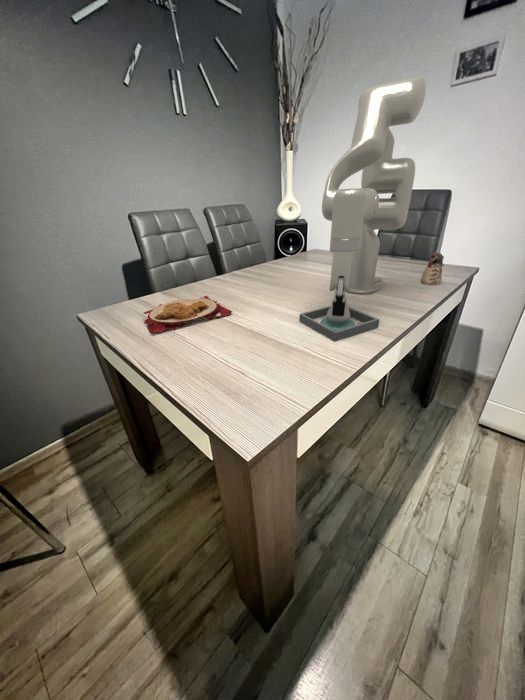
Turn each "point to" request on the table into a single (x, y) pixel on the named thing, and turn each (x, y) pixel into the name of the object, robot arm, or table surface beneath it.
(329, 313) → the flask
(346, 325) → the square tray with dome
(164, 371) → the table surface
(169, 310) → the plate with food
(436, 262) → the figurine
